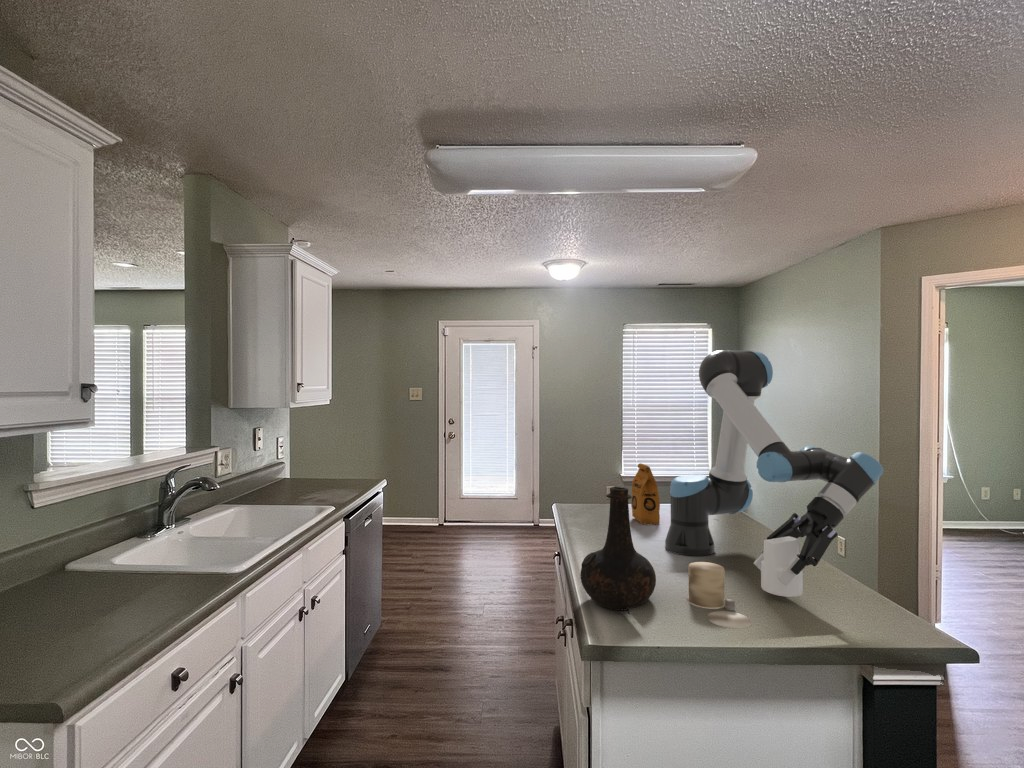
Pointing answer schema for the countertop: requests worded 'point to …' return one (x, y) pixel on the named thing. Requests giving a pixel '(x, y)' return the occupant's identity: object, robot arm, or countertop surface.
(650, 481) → the coffee package
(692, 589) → the oak cylinder
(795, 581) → the cylinder with rectangular tab
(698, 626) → the countertop surface
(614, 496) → the glass bottle
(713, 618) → the board
